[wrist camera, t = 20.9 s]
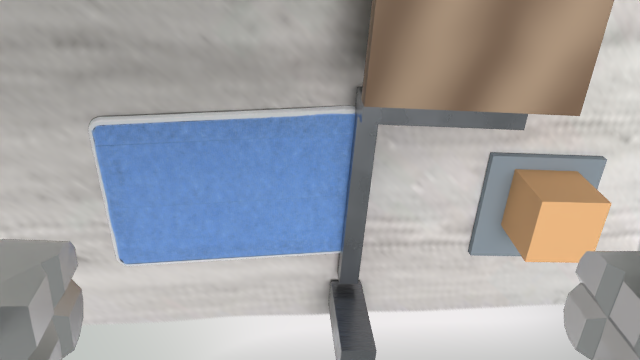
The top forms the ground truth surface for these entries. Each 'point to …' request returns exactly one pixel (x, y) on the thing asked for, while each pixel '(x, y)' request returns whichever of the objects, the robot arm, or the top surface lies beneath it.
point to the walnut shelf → (483, 54)
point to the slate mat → (497, 186)
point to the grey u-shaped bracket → (347, 293)
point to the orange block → (553, 215)
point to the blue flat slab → (224, 183)
